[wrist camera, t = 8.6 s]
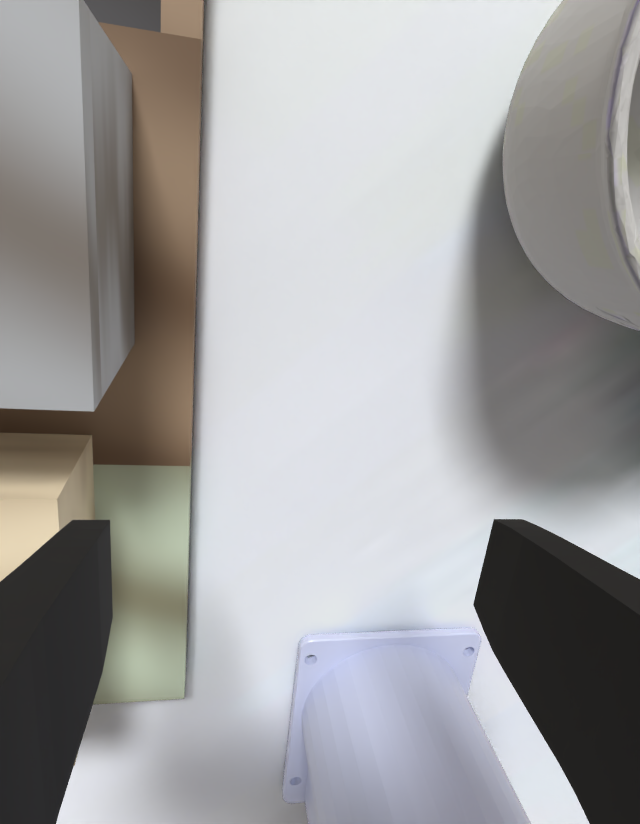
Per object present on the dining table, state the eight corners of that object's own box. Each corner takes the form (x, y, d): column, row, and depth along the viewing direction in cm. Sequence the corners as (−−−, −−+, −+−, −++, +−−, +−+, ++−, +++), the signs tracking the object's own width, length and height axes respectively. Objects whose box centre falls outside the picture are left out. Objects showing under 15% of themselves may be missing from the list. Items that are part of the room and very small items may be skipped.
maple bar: (101, 662, 20) (74, 765, 16) (-20, 667, 19) (-76, 778, 16) (91, 435, 17) (57, 498, 13) (-52, 431, 16) (-131, 497, 13)
